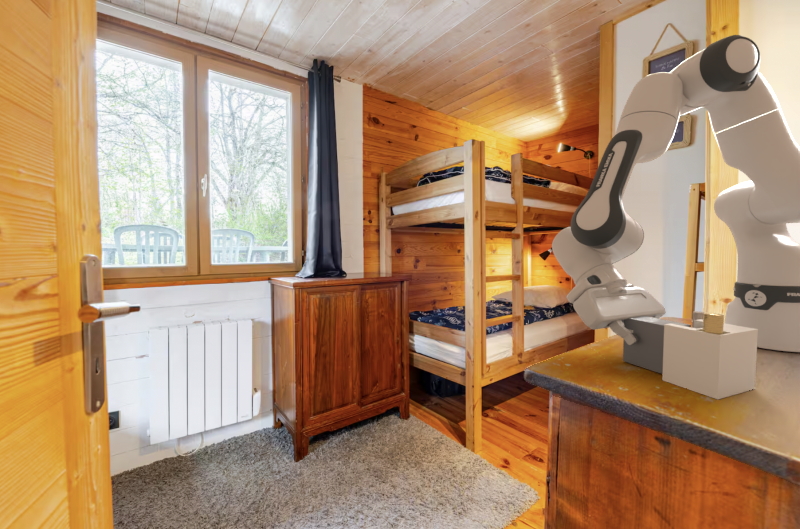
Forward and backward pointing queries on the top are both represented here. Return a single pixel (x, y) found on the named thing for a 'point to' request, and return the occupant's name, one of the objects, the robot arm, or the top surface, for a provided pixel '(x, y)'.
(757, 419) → the top surface
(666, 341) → the housing
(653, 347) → the cartridge
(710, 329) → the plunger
